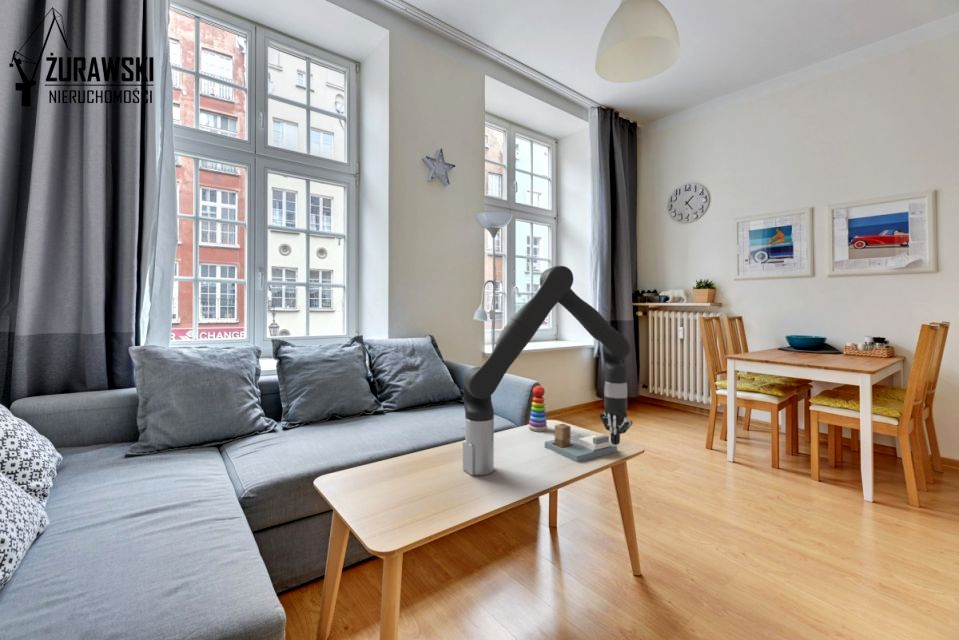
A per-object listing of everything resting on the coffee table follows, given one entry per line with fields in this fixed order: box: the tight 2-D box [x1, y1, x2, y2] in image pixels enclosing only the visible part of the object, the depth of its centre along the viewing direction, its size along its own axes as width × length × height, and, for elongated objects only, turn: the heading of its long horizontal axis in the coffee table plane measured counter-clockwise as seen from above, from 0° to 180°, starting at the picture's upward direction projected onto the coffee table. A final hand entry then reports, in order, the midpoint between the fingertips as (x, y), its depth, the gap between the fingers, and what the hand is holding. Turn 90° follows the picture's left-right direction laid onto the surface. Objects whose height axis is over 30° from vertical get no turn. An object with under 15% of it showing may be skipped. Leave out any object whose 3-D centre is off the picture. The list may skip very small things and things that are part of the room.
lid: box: [578, 434, 611, 450], centre depth 151 cm, size 8×8×4 cm
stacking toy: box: [528, 385, 548, 432], centre depth 176 cm, size 8×8×19 cm
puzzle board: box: [544, 432, 618, 463], centre depth 153 cm, size 20×17×3 cm
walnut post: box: [554, 423, 572, 448], centre depth 152 cm, size 4×4×9 cm
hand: (615, 444), depth 143 cm, fingers closed
